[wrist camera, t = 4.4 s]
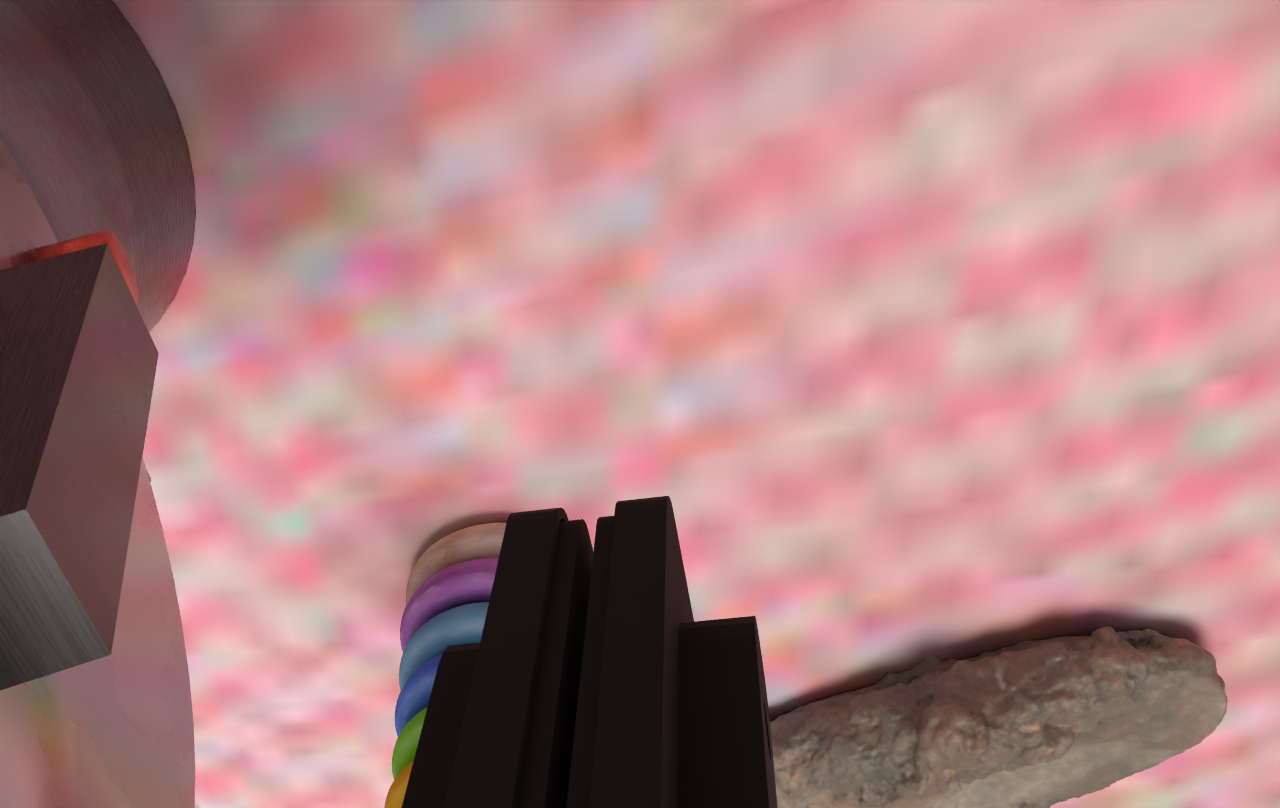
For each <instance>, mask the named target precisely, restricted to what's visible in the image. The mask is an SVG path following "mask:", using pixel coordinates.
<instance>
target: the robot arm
mask: <svg viewBox="0 0 1280 808" xmlns="http://www.w3.org/2000/svg"><path fill="white" fill-rule="evenodd" d="M401 808H778V806H777V795H776V783H775V772H774V761H773V749H772V739H771V729H770V719H769V710H768V701H767V693H766V685H765V677H764V670H763V662H762V656H761V649H760V642H759V635H758V629H757V622H756V617H755V616H750V617H739V618H729V619H719V620H708V621H698V622H694V619H693V614H692V609H691V603H690V598H689V593H688V587H687V582H686V577H685V571H684V566H683V561H682V555H681V550H680V545H679V539H678V534H677V529H676V523H675V518H674V513H673V508H672V503H671V500H670V497H669V496H663V497H654V498H645V499H636V500H627V501H618V502H617V503H616V507H615V515H614V516H608V517H599V518H598V520H597V525H596V535H595V544H594V553H593V548H592V544H591V540H590V536H589V532H588V528H587V525H586V523H585V521H584V520H583V519H581V520H572V521H568V517H567V514H566V512H565V511H564V509H562V508H554V509H545V510H536V511H527V512H518V513H511V514H510V515H509V517H508V520H507V523H506V527H505V532H504V536H503V541H502V545H501V550H500V555H499V559H498V564H497V568H496V573H495V577H494V582H493V586H492V591H491V596H490V600H489V605H488V609H487V614H486V618H485V623H484V627H483V632H482V636H481V641H480V643H470V644H460V645H450V646H448V647H447V648H446V649H445V650H444V652H443V654H442V656H441V659H440V662H439V664H438V668H437V672H436V676H435V680H434V684H433V688H432V691H431V695H430V699H429V703H428V707H427V711H426V715H425V719H424V722H423V726H422V730H421V734H420V738H419V742H418V746H417V749H416V753H415V757H414V761H413V765H412V769H411V773H410V777H409V780H408V784H407V788H406V792H405V796H404V800H403V804H402V807H401Z"/></svg>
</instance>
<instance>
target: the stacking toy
mask: <svg viewBox="0 0 1280 808" xmlns="http://www.w3.org/2000/svg"><path fill="white" fill-rule="evenodd" d="M505 527H506V523H487V524H479V525H475V526H471V527H467V528H464V529H461V530H458V531H456V532H453V533H451V534H449V535H447V536H445V537H443V538H441V539H440V540H438V541H437V542H436V543H434V544H433V545H432V546H430V547H429V548H428V549H427V550H426V551H425V552H424V553H423V554H422V555H421V557H420V558H419V560H418V561H417V562H416V564H415V566H414V568H413V570H412V572H411V575H410V578H409V581H408V585H407V591H406V608H405V610H404V613H403V616H402V621H401V627H400V640H401V646H402V650H403V656H402V659H401V663H400V670H399V684H400V688H401V692H400V695H399V698H398V700H397V705H396V710H395V727H396V732H397V735H398V739H397V741H396V744H395V748H394V751H393V757H392V773H393V776H394V782H393V783H392V785H391V787H390V789H389V792H388V795H387V798H386V802H385V808H401V807H402V804H403V800H404V796H405V792H406V788H407V784H408V780H409V777H410V773H411V769H412V765H413V761H414V757H415V753H416V749H417V746H418V742H419V738H420V734H421V730H422V726H423V722H424V719H425V715H426V711H427V707H428V703H429V699H430V695H431V691H432V688H433V684H434V680H435V676H436V672H437V668H438V664H439V662H440V659H441V656H442V654H443V652H444V650H445V649H446V648H447V647H448V646H450V645H460V644H470V643H480V641H481V636H482V632H483V627H484V623H485V618H486V614H487V609H488V605H489V600H490V596H491V591H492V586H493V582H494V577H495V573H496V568H497V564H498V559H499V555H500V550H501V545H502V541H503V536H504V532H505Z"/></svg>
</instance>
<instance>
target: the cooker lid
mask: <svg viewBox="0 0 1280 808" xmlns="http://www.w3.org/2000/svg"><path fill="white" fill-rule="evenodd" d="M137 303H138V289H137V284H136V280H135V277H134V273H133V270H132V267H131V265H130V262H129V259H128V257H127V255H126V252H125V250H124V248H123V246H122V244H121V243H120V241H119V239H118V238H117V236H116V235H115V234H114V233H113V232H112V231H111V230H105V231H101V232H97V233H93V234H89V235H85V236H81V237H77V238H73V239H69V240H65V241H61V242H58V241H57V239H56V237H55V235H54V233H53V231H52V229H51V227H50V225H49V223H48V221H47V220H46V218H45V216H44V214H43V212H42V210H41V208H40V206H39V204H38V202H37V200H36V198H35V196H34V194H33V192H32V191H31V189H30V187H29V185H28V183H27V182H26V180H25V178H24V176H23V174H22V173H21V171H20V169H19V167H18V165H17V164H16V162H15V160H14V158H13V156H12V155H11V153H10V151H9V149H8V148H7V146H6V144H5V143H4V141H3V139H2V138H1V136H0V808H194V803H195V752H194V727H193V713H192V702H191V691H190V680H189V671H188V664H187V656H186V649H185V642H184V635H183V628H182V622H181V616H180V611H179V605H178V600H177V594H176V589H175V583H174V578H173V574H172V569H171V565H170V560H169V556H168V551H167V547H166V542H165V538H164V533H163V529H162V525H161V522H160V518H159V514H158V510H157V506H156V503H155V499H154V495H153V491H152V487H151V484H150V480H149V477H148V474H147V470H146V467H145V464H144V460H143V457H142V455H143V448H144V442H145V436H146V429H147V423H148V416H149V410H150V404H151V397H152V391H153V385H154V378H155V372H156V365H157V359H158V351H157V349H156V347H155V345H154V343H153V340H152V338H151V336H150V334H149V332H148V329H147V327H146V325H145V323H144V321H143V319H142V316H141V314H140V312H139V310H138V308H137V305H136V304H137Z"/></svg>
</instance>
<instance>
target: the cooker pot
mask: <svg viewBox="0 0 1280 808" xmlns="http://www.w3.org/2000/svg"><path fill="white" fill-rule="evenodd" d="M0 136H1V138H2V139H3V141H4V143H5V144H6V146H7V148H8V149H9V151H10V153H11V155H12V156H13V158H14V160H15V162H16V164H17V165H18V167H19V169H20V171H21V173H22V174H23V176H24V178H25V180H26V182H27V183H28V185H29V187H30V189H31V191H32V192H33V194H34V196H35V198H36V200H37V202H38V204H39V206H40V208H41V210H42V212H43V214H44V216H45V218H46V220H47V221H48V223H49V225H50V227H51V229H52V231H53V233H54V235H55V237H56V239H57V241H58V242H61V241H65V240H69V239H73V238H77V237H81V236H85V235H89V234H93V233H97V232H101V231H105V230H111V231H112V232H113V233H114V234H115V235H116V236H117V238H118V239H119V241H120V243H121V244H122V246H123V248H124V250H125V252H126V255H127V257H128V259H129V262H130V265H131V267H132V270H133V273H134V277H135V280H136V284H137V289H138V303H137V304H136V305H137V308H138V310H139V312H140V314H141V316H142V319H143V321H144V323H145V325H146V327H147V329H148V332H150V331H151V330H152V329H153V327H154V326H155V325H156V324H157V323H158V322H159V320H160V319H161V317H162V316H163V314H164V313H165V311H166V310H167V308H168V307H169V305H170V304H171V302H172V301H173V299H174V298H175V296H176V293H177V291H178V289H179V286H180V284H181V282H182V280H183V277H184V275H185V273H186V269H187V265H188V261H189V257H190V253H191V250H192V246H193V237H194V226H195V215H196V208H195V191H194V177H193V172H192V167H191V162H190V157H189V151H188V146H187V142H186V139H185V136H184V133H183V130H182V127H181V124H180V121H179V118H178V115H177V112H176V109H175V106H174V104H173V102H172V99H171V97H170V95H169V93H168V91H167V89H166V86H165V84H164V82H163V80H162V78H161V75H160V73H159V71H158V69H157V68H156V66H155V64H154V62H153V61H152V59H151V57H150V56H149V54H148V52H147V51H146V49H145V47H144V46H143V44H142V42H141V41H140V39H139V37H138V36H137V34H136V32H135V31H134V30H133V28H132V27H131V26H130V24H129V23H128V22H127V20H126V19H125V18H124V16H123V15H122V14H121V12H120V11H119V10H118V8H117V7H116V6H115V4H114V3H113V2H112V0H0ZM146 470H147V469H146ZM147 474H148V477H149V480H150V482H151V477H150V475H149V473H148V471H147Z"/></svg>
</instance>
